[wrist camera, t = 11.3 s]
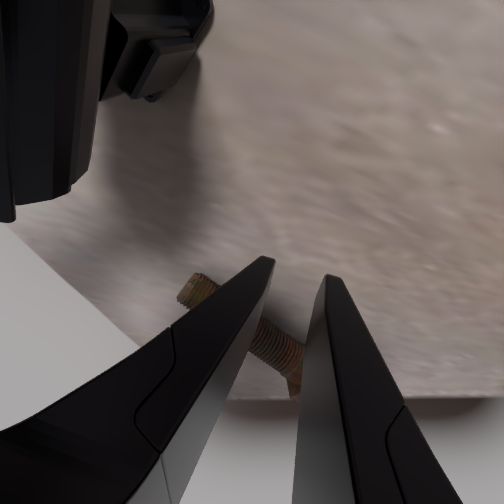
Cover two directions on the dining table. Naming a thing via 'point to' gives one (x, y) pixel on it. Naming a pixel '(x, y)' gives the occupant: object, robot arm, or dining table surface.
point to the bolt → (257, 337)
